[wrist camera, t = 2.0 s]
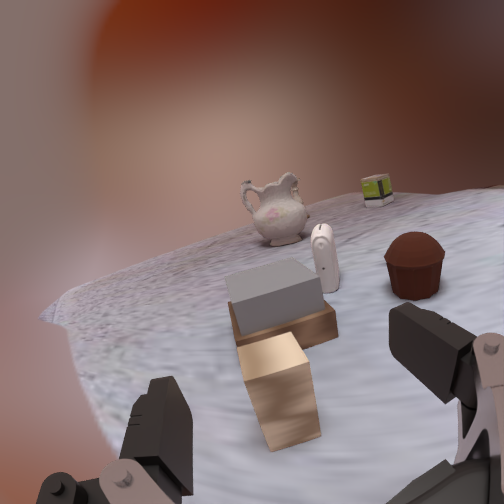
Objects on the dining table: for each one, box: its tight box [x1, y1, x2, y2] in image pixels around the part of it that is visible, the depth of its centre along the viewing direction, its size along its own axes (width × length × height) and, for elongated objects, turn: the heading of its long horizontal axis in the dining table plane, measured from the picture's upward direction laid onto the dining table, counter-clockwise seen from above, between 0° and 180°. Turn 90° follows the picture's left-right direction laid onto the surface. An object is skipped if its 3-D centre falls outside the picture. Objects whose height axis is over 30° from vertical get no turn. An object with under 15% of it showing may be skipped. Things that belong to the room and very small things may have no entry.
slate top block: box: [224, 257, 325, 336], centre depth 42 cm, size 12×12×5 cm
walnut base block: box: [228, 300, 338, 350], centre depth 43 cm, size 14×14×5 cm
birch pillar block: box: [237, 332, 321, 452], centre depth 23 cm, size 5×5×10 cm
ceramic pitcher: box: [240, 172, 307, 246], centre depth 99 cm, size 22×20×25 cm
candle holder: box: [291, 179, 310, 218], centre depth 139 cm, size 9×9×20 cm
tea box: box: [361, 174, 394, 208], centre depth 128 cm, size 15×10×15 cm
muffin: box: [384, 232, 445, 301], centre depth 42 cm, size 12×11×10 cm
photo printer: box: [311, 224, 339, 293], centre depth 55 cm, size 10×4×12 cm, turn 162°
